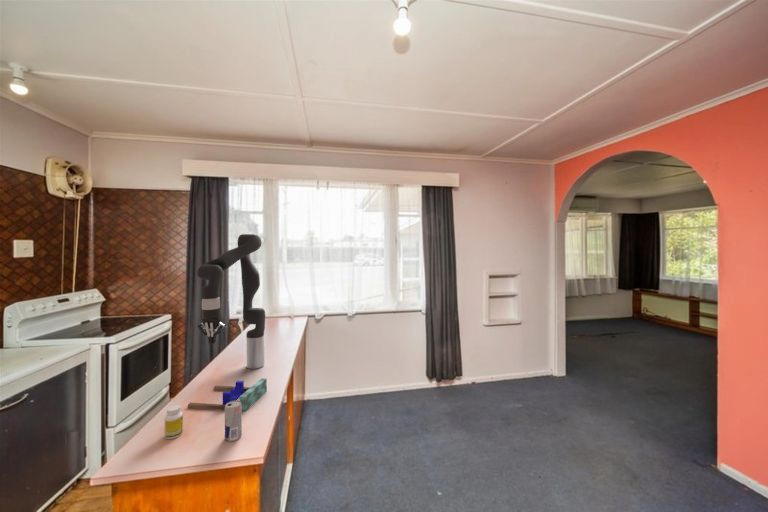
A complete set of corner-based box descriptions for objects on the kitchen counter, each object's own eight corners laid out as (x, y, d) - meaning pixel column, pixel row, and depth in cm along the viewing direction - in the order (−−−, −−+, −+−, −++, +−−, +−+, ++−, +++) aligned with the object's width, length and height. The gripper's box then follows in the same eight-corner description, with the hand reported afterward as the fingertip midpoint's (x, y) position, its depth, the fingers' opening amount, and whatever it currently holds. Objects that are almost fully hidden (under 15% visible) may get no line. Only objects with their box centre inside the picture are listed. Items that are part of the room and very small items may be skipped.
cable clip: (234, 393, 141) (234, 380, 141) (243, 394, 141) (243, 381, 141) (219, 407, 129) (219, 393, 129) (229, 407, 129) (229, 393, 129)
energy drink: (228, 433, 111) (228, 400, 110) (244, 432, 111) (243, 399, 111) (222, 442, 105) (221, 408, 105) (238, 441, 106) (238, 407, 105)
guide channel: (215, 388, 146) (215, 376, 146) (266, 391, 143) (266, 378, 143) (187, 407, 128) (187, 393, 128) (245, 411, 126) (245, 396, 125)
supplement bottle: (184, 434, 110) (184, 407, 109) (166, 441, 106) (166, 413, 105) (180, 428, 113) (180, 402, 113) (162, 435, 109) (162, 408, 109)
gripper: (229, 305, 145) (230, 341, 146) (203, 305, 147) (204, 340, 148) (219, 309, 138) (220, 347, 139) (192, 308, 139) (193, 346, 140)
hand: (212, 343), depth 143 cm, fingers closed
